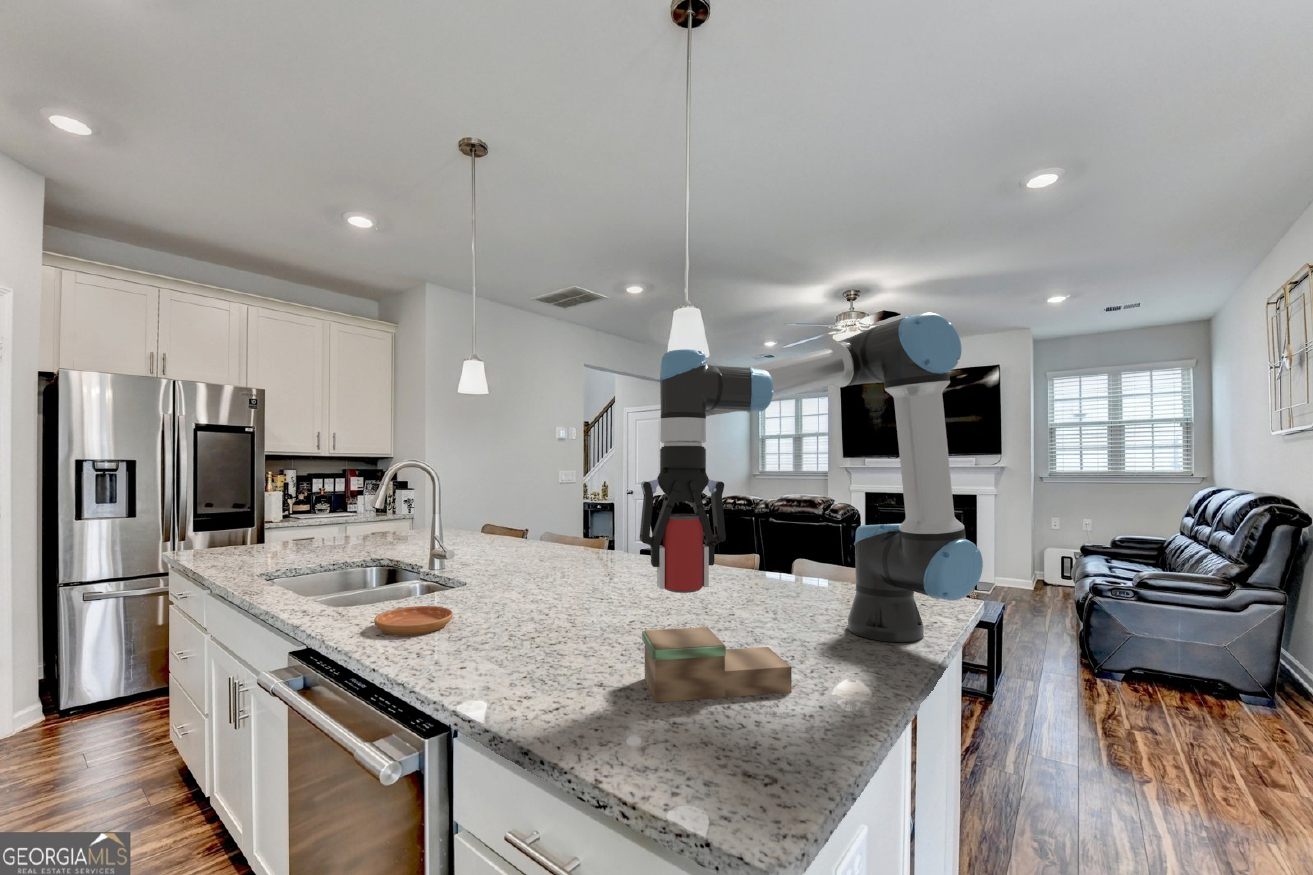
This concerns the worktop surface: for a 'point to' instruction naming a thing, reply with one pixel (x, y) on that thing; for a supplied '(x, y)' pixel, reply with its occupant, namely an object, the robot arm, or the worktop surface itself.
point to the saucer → (413, 620)
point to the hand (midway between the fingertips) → (682, 586)
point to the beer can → (683, 553)
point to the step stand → (709, 667)
